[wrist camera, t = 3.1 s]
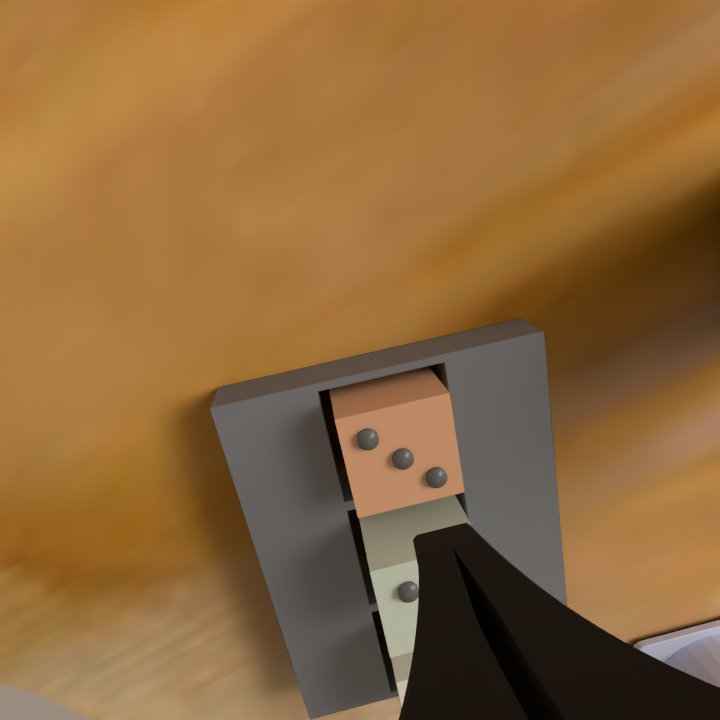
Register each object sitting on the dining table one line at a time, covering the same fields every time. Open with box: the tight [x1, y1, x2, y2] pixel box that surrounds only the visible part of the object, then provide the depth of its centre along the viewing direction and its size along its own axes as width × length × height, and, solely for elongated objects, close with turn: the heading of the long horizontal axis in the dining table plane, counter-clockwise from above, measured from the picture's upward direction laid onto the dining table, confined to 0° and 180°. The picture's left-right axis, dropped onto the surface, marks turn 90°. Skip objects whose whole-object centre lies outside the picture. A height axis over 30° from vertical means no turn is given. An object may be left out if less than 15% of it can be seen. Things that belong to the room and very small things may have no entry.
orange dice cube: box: [329, 366, 465, 518], centre depth 18 cm, size 4×4×4 cm
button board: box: [210, 319, 567, 719], centre depth 21 cm, size 15×12×2 cm
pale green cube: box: [359, 495, 472, 658], centre depth 19 cm, size 4×4×4 cm
